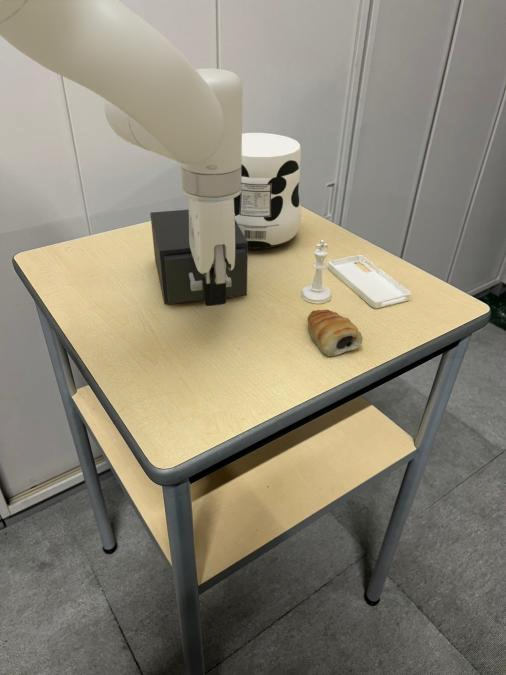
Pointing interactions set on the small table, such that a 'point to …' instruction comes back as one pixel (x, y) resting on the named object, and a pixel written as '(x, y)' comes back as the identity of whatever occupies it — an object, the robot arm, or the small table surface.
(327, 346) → the pastry
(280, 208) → the milk container
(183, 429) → the small table surface
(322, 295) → the chess piece
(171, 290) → the drawer
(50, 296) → the small table surface
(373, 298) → the phone case
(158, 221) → the cabinet
